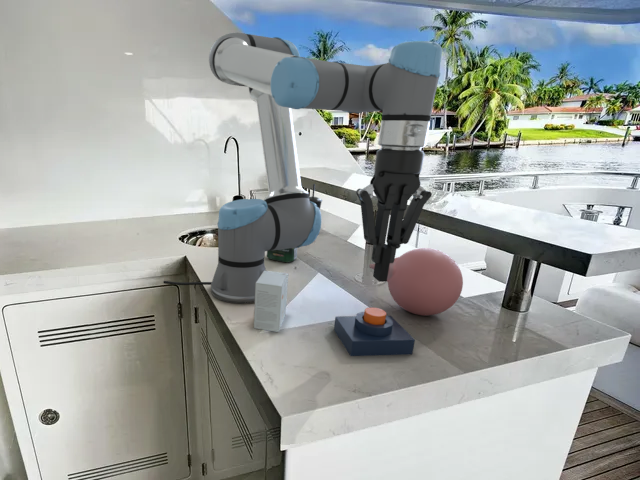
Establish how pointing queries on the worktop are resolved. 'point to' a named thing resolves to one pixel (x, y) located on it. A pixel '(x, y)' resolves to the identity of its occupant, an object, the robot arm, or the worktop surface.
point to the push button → (373, 336)
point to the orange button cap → (374, 316)
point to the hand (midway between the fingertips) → (379, 278)
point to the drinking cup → (315, 198)
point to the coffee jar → (283, 254)
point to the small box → (270, 300)
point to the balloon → (424, 281)
